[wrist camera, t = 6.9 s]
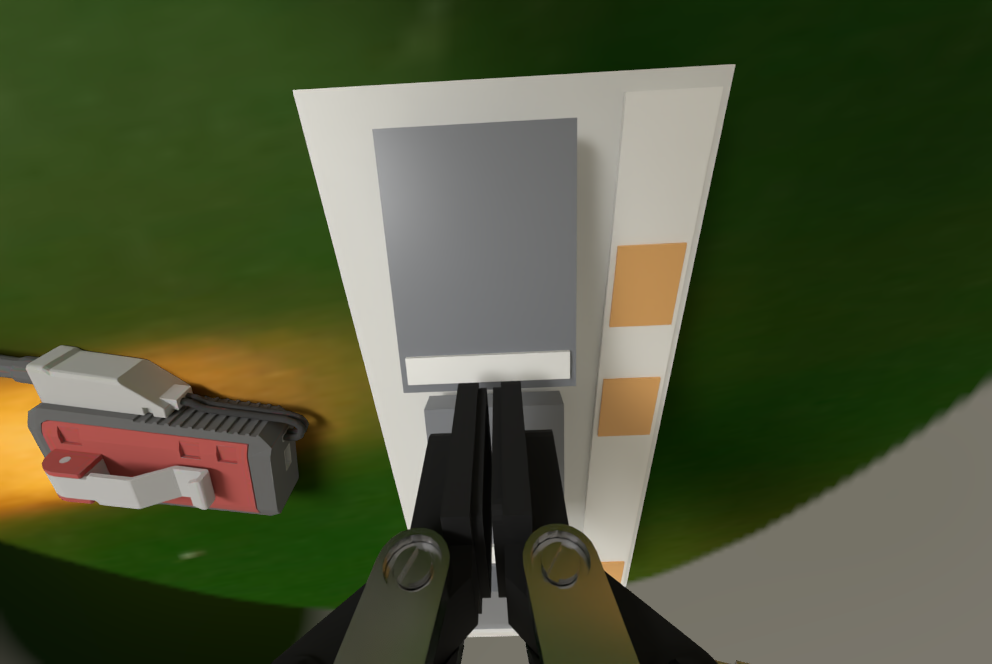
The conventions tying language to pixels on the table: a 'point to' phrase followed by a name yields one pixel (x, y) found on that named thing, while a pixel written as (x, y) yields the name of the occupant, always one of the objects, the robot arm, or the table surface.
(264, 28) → the table surface
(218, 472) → the walkie-talkie
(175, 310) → the table surface
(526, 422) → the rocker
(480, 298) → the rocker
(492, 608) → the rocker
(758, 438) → the table surface
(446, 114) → the switch unit
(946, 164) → the table surface
